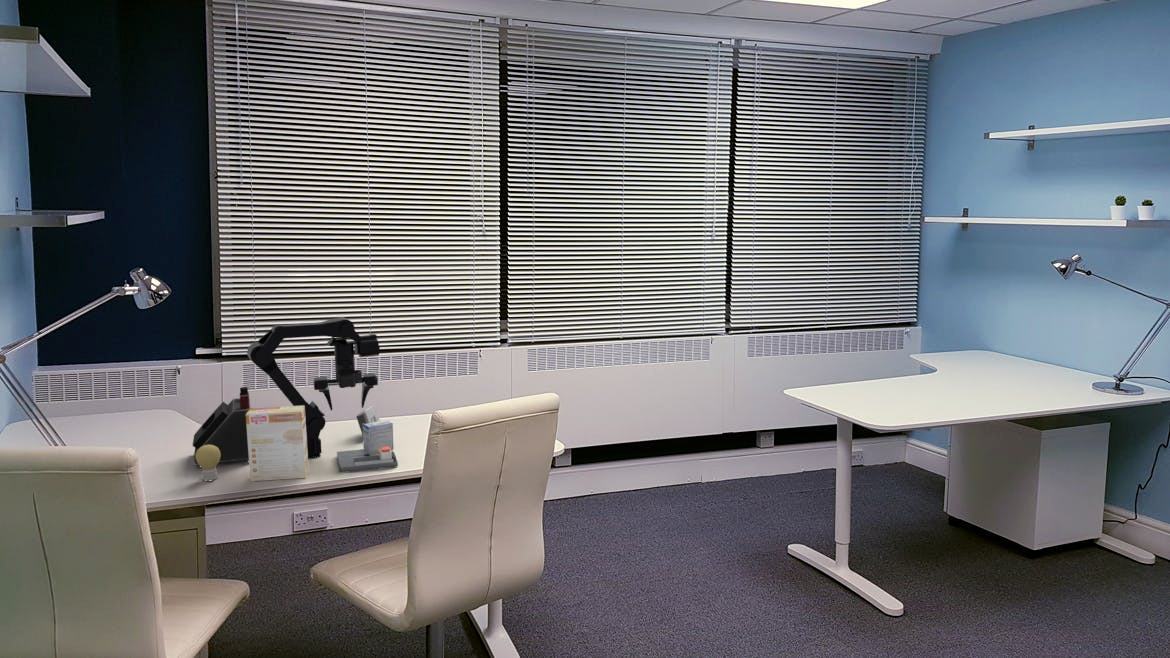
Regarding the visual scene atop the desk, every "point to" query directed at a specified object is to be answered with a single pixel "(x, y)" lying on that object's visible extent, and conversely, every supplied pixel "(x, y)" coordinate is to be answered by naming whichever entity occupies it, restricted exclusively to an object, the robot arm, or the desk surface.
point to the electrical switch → (367, 417)
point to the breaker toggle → (385, 453)
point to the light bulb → (208, 461)
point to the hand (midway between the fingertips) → (347, 408)
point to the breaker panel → (363, 461)
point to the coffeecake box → (277, 443)
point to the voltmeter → (227, 429)
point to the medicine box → (377, 436)
